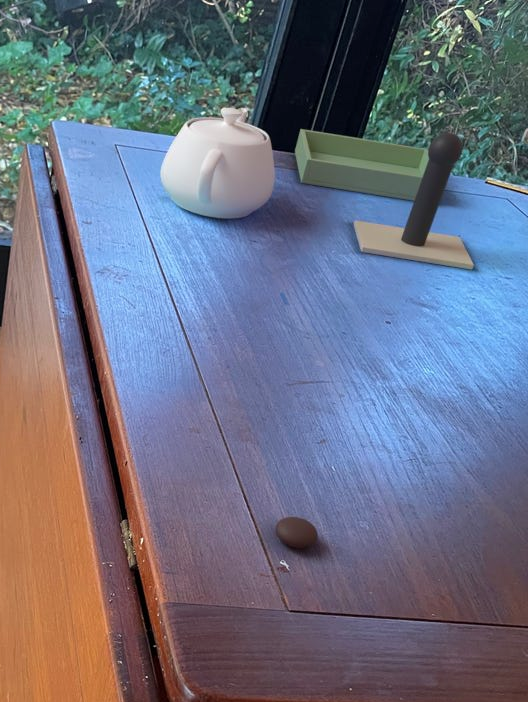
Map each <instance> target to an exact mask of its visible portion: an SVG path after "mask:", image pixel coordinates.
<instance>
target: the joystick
mask: <svg viewBox="0 0 528 702" xmlns="http://www.w3.org/2000/svg"><path fill="white" fill-rule="evenodd" d="M463 146H464V145H463V142H462V140H461V138H460V137H459V136H458V135H457V134H455V133H453V132H443V133H440V134H438V135H437V136H436V137H434V139H433V140H432V141H431V142H430V144H429V146H428V157H429V160H428V163H427V166H426V169H425V172H424V174H423V177H422V180H421V183H420V186H419V189H418V192H417V195H416V197H415V200H414V201H413V202H412V206H411V209H410V212H409V215H408V217H407V220H406V224H405V227H400V226H393V225H389V224H388V225H387V224H382V223H376V222H370V221H369V222H368V221H362V220H357V219H355V220H354V221H353V228H354V229H353V230H354V232H355V235H356V238H357V242H358V245H359V249H360V252H361V253H365V254H372V255H377V256H384V257H389V258H390V257H391V258H397V259H402V260H403V259H404V260H409V261H416V262H421V263H422V262H423V263H428V264H434V265H441V266H446V267H452V268H458V269H465V270H470V271H471V270H473V269H474V266H475V265H474V262H473V260H472V258H471V256H470V254H469V252H468V251H467V248H466V246H465V245H464V242H463V240H462V238H461V237H460V236H456V235H451V234H450V235H449V234H444V233H437V232H431V228H432V226H433V223H434V220H435V217H436V214H437V211H438V209H439V206H440V204H441V200H442V198H443V196H444V193H445V190H446V187H447V185H448V182H449V180H450V176H451V173H452V170H453V168H454V166H455V164H456V163H458V162H459V160H460V159H461V157H462V155H463V150H464V149H463Z"/></svg>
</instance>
